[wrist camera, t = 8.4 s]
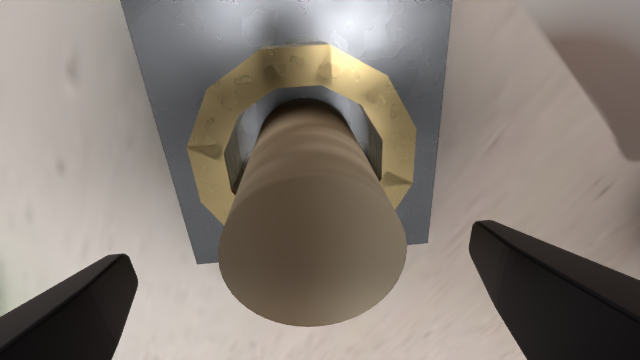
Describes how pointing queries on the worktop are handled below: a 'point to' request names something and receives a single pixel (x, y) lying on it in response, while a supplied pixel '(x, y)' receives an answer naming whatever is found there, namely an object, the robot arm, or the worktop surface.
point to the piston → (310, 222)
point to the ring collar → (291, 91)
